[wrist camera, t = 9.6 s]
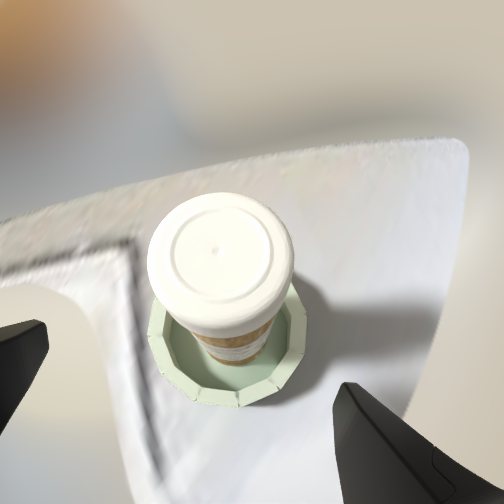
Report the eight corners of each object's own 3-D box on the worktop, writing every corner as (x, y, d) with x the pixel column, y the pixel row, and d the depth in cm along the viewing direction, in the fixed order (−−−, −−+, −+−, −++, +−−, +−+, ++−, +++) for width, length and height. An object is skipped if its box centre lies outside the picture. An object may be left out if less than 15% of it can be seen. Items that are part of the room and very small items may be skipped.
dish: (294, 410, 20) (300, 412, 18) (149, 392, 20) (138, 391, 18) (303, 274, 24) (309, 260, 22) (172, 261, 24) (164, 247, 22)
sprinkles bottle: (225, 291, 23) (203, 166, 11) (280, 325, 22) (323, 229, 10) (188, 344, 21) (114, 270, 9) (244, 381, 20) (241, 359, 8)
